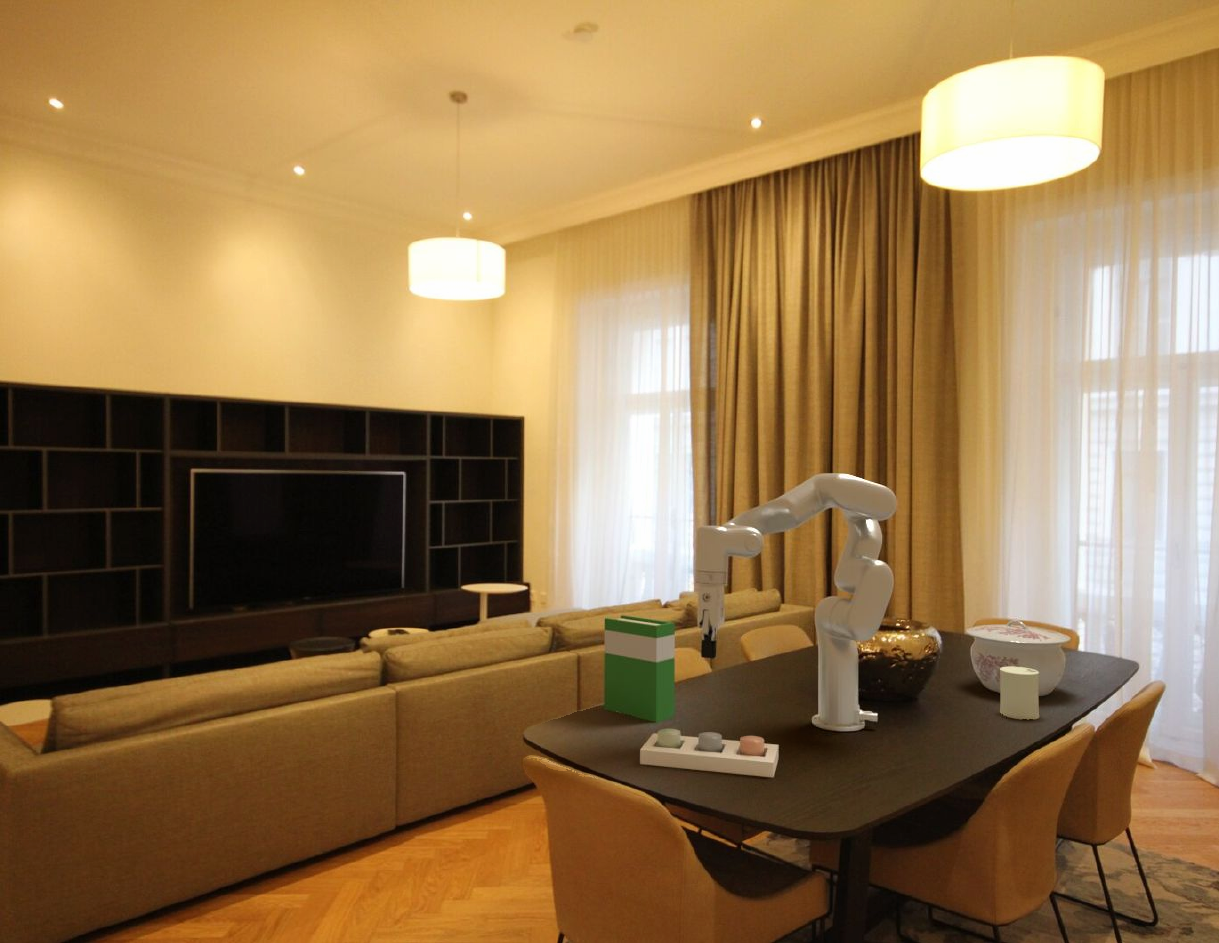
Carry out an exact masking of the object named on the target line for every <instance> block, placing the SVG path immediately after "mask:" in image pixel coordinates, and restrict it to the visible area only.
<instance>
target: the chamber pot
mask: <svg viewBox="0 0 1219 943" xmlns="http://www.w3.org/2000/svg"><path fill="white" fill-rule="evenodd" d="M964 632H965V633H966V634H967V636H970V637H973V639H974V641H973V643H972V645H971V646H970V658H971V663H972V667H973V670H974V672H975V673H976V675H977V677H978V679H979V681H980V682H981V684H982V685H983V686H984V687H985V688H986V689H988V690H990V691H992V692H995V693H996V692H997V693H996V694H999V693H1000V668H1002V667H1024V668H1030V669H1034V670H1037V671H1038V672H1039V685H1038V698H1039V696H1040V697H1042V696H1047V695H1050V694H1051V693H1052V692H1053V691H1054V690H1055V688H1056V687H1057V686H1058V684H1059V683H1060V681H1061V680H1062V678H1063V676H1064V671H1065V668H1066V654H1065V652H1064V650H1063V649H1062V645H1063V644H1068V643H1069V642H1071V640H1072V638H1071V637H1070V636H1069V635H1067V634H1065V633H1061V632H1059V631H1056V630H1054V629H1049V628H1048V629H1047V628H1042V627H1039V626H1033V625H1032V626H1031V625H1026V624H1025V623H1024V622H1022V621H1020V620H1018V619H1013V620H1009V621H1008V622H1007V623H1006V624H1003V623H1002V624H1000V623H999V624H997V623H996V624H995V623H994V624H982V625H981V624H980V625H975V626H973V627H969V628H967V629H965V630H964Z"/></svg>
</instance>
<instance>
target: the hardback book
mask: <svg viewBox="0 0 1219 943" xmlns="http://www.w3.org/2000/svg"><path fill="white" fill-rule="evenodd" d="M675 627H676V626H675V622H673V621H665V620H659V619H653V618H644V617H637V616H632V615H624V614H622V615H620V618H617V619H616V618H610V617H606V618H605V617H604V676H603V677H604V679H603V680H604V681H603V682H604V687H603V688H604V690H603V691H604V692H603V693H604V699H603V700H604V702H603V703H604V710H605V711H609V710H610V711H609V712H613V711H618V712H621V713H624V714H623V715H625V714H628V715H627V716H629V715H631V716H630V717H633V716H634V717H633V718H637V717H638V718H637V719H640V720H645V719H646V720H645V721H649V722H653V723H659V722H662V721H665V720H668V719H671V718H673V717H674V718H675V717H676V716H675V715H676V714H675V710H676V709H675V706H676V705H675V702H676V700H675V698H676V697H675V696H676V695H675V687H676V686H675V681H676V680H675V677H676V675H675V672H676V671H675V667H676V666H675V662H676V660H675V652H676V651H675V648H676V646H675V645H676V644H675V643H676V642H675V641H676V640H675V638H676V637H675V632H676V630H675V629H676V628H675ZM621 713H620V714H621Z"/></svg>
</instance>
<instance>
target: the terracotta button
mask: <svg viewBox="0 0 1219 943" xmlns="http://www.w3.org/2000/svg"><path fill="white" fill-rule="evenodd" d="M739 739H740V740H739V741H740V755H748V756H759V757H764V744H765V739H764V738H763V737H761V736H756V735H746V736H745V735H744V736H741V737H740V738H739Z"/></svg>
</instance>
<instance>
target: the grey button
mask: <svg viewBox="0 0 1219 943" xmlns="http://www.w3.org/2000/svg"><path fill="white" fill-rule="evenodd" d="M722 738H723V736H722V734H720V733H718V732H713V731H707V732H700V733H698V751H707V752H717V753H722V740H723V739H722Z"/></svg>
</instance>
